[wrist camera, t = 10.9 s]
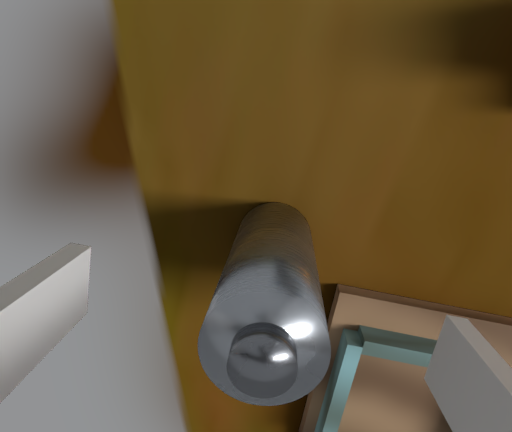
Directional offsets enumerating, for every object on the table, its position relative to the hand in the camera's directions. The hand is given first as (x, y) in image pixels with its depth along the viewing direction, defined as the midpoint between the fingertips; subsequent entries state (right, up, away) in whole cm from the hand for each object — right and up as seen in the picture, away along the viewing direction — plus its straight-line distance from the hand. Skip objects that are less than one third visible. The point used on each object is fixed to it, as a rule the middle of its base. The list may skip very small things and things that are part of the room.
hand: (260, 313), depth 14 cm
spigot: (+1, +2, +7) cm, 7 cm away
